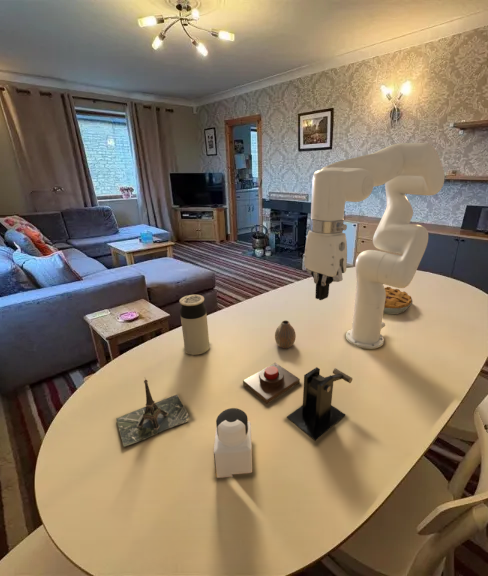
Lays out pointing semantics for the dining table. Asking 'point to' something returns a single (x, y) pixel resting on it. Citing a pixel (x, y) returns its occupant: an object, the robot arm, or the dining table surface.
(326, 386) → the switch bracket
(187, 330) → the travel mug
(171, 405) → the eiffel tower figurine
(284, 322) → the vase
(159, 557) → the dining table surface
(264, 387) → the housing
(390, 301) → the pie
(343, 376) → the switch lever
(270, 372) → the button
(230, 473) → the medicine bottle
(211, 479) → the dining table surface
